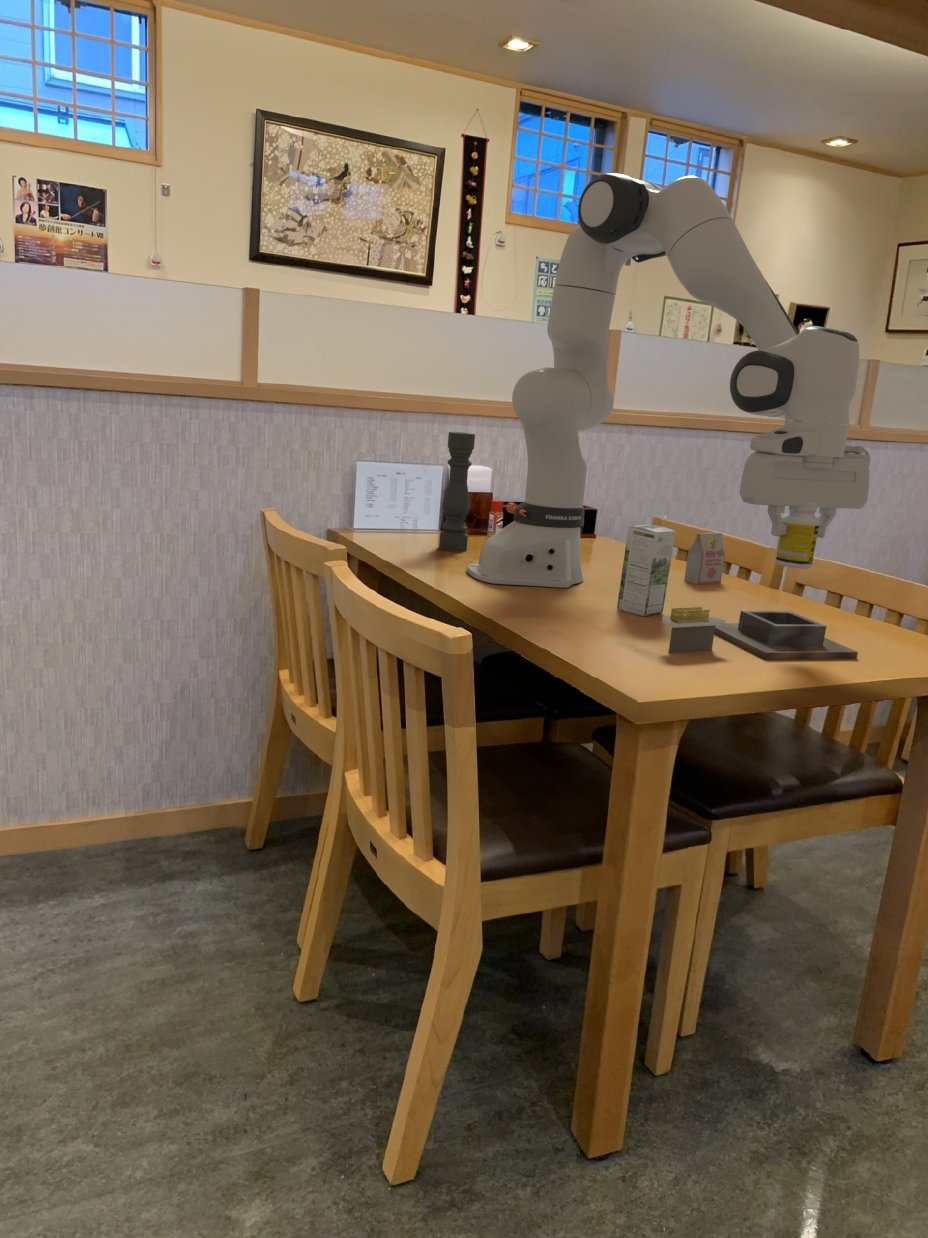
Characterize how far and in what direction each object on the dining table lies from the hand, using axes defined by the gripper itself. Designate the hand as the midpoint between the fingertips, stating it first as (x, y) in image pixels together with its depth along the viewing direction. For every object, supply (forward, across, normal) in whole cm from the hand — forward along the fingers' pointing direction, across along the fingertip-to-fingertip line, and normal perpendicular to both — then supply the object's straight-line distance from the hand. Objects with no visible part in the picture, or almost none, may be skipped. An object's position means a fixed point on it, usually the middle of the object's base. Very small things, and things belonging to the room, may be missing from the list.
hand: (797, 536), depth 134 cm
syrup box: (+17, +14, -19) cm, 29 cm away
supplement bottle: (+5, 0, 0) cm, 5 cm away
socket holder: (+17, 0, 0) cm, 17 cm away
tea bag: (+17, -13, -44) cm, 49 cm away
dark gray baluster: (+16, +32, -73) cm, 82 cm away
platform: (+17, +18, +3) cm, 25 cm away
